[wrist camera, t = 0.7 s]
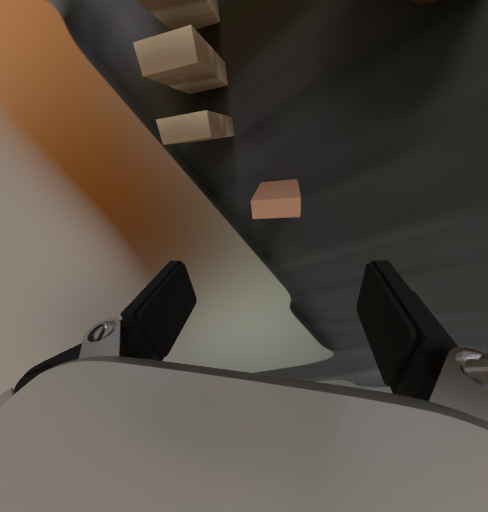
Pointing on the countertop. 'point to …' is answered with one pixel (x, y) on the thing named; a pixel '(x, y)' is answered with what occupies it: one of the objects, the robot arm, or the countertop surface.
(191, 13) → the domino
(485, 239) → the countertop surface
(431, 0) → the food container
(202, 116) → the domino
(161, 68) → the domino
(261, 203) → the domino
